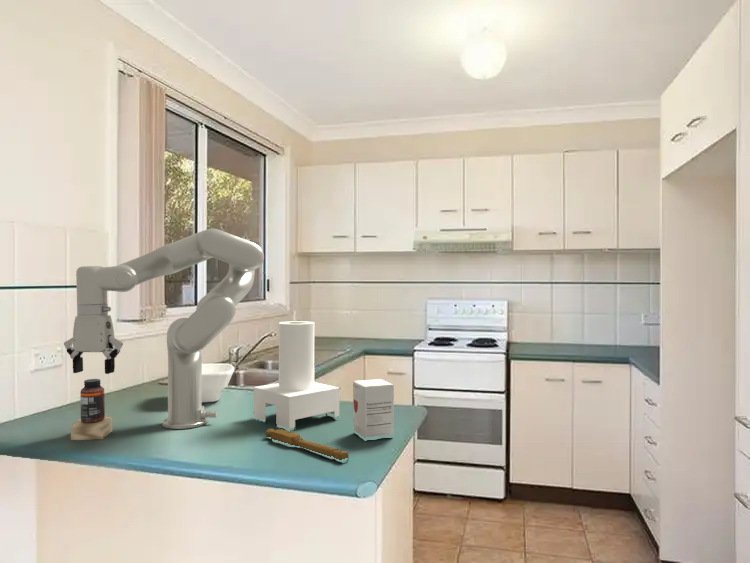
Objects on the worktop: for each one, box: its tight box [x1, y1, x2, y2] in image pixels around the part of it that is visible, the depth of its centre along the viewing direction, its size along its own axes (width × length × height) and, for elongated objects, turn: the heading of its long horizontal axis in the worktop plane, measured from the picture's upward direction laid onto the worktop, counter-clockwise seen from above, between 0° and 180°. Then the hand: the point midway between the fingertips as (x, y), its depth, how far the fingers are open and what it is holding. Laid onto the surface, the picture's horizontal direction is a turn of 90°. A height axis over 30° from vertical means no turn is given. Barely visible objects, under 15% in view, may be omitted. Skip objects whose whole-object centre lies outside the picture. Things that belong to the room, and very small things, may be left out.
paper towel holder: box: [253, 320, 341, 429], centre depth 170 cm, size 19×19×30 cm
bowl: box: [202, 363, 235, 403], centre depth 194 cm, size 22×22×12 cm
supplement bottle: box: [80, 378, 106, 423], centre depth 152 cm, size 6×6×11 cm
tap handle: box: [264, 428, 349, 460], centre depth 141 cm, size 3×3×30 cm
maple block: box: [70, 416, 113, 441], centre depth 152 cm, size 8×8×4 cm
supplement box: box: [352, 378, 395, 438], centre depth 153 cm, size 9×9×15 cm
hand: (93, 372), depth 152 cm, fingers open, 9 cm apart
